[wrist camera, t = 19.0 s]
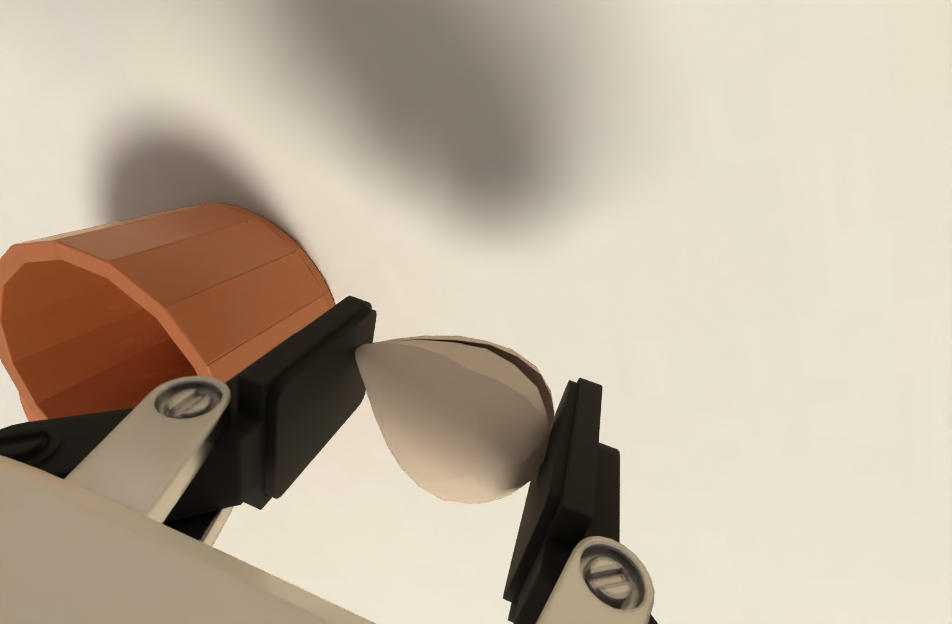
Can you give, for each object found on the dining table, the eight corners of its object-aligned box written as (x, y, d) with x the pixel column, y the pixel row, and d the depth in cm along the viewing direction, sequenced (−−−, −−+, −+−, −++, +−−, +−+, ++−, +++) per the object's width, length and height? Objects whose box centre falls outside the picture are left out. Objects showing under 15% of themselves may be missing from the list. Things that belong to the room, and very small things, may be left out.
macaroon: (500, 479, 13) (476, 556, 11) (351, 381, 13) (297, 438, 11) (592, 377, 11) (584, 447, 9) (414, 260, 11) (361, 301, 9)
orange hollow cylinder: (144, 173, 23) (-50, 199, 16) (353, 246, 21) (226, 309, 14) (164, 364, 28) (24, 440, 22) (332, 436, 26) (233, 545, 20)
